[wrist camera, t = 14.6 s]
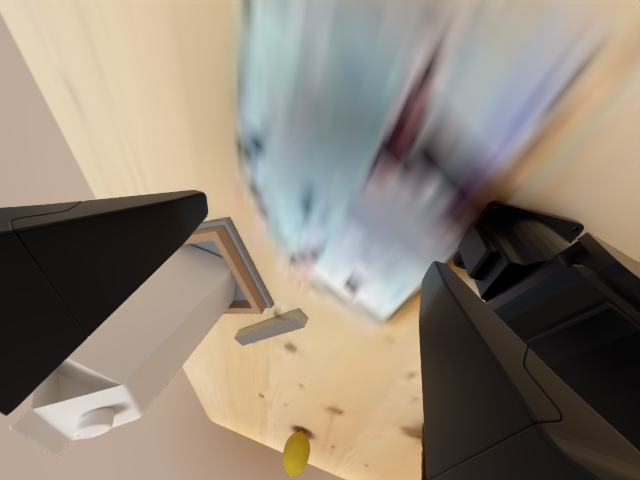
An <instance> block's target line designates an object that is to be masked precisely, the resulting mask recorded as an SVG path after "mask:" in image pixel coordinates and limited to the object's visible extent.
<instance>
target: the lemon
mask: <svg viewBox="0 0 640 480" xmlns="http://www.w3.org/2000/svg"><path fill="white" fill-rule="evenodd" d="M309 453H310V444H309V440H308V438H307V436H306V435H305V433H304V431H303V430H301V431H300V432H296V433H294V434H292V435H291V436H290V437H289V439H288V440H287V442H286V445H285V448H284V452H283V466H284V468H285V470H286V472H287V473H288V476H289V477H292V476H293V475H297V474H299V473H301V472H302V470H303V469H304V468H305V466H306V463H307V461H308V458H309Z"/></svg>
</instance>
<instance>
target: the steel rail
mask: <svg viewBox="0 0 640 480" xmlns="http://www.w3.org/2000/svg"><path fill="white" fill-rule="evenodd" d="M307 320H308V318H307V317H306V316H305V315H304V314H303V312H302V311H301V310H300V309H296V310H294V311H291V312H288V313H285V314H282V315H280V316H277V317H274V318H271V319H269V320H266V321H263V322H260V323H257V324H255V325H252V326H249V327H246V328H244V329H241V330H239V331H238V332H237V334H236V335H235V337H234V338H235V339H236V340H237V341H238V342H239V343H240V344H241V345H242V346H243V345H246V344H250V343H253V342H257V341H260V340H263V339H267V338H270V337H273V336H277V335H280V334H283V333H287V332H290V331H294V330H297V329H300V328H304V327H305V324H306V322H307Z"/></svg>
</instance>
